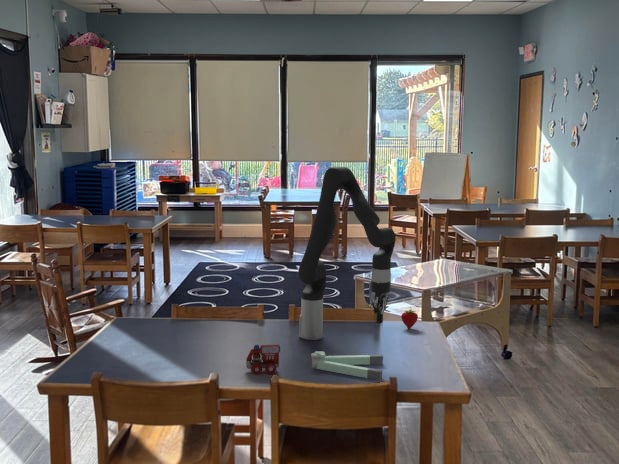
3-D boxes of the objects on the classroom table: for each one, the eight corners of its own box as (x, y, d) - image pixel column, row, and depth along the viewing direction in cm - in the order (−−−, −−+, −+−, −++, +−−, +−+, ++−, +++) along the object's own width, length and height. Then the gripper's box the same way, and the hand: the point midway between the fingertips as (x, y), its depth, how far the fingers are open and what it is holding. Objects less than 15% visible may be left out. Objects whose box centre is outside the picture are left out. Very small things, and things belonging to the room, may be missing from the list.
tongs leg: (310, 368, 265) (310, 357, 264) (313, 365, 267) (313, 355, 267) (380, 380, 254) (380, 370, 253) (382, 378, 256) (382, 367, 256)
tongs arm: (311, 368, 263) (311, 356, 263) (309, 363, 269) (310, 351, 268) (384, 367, 266) (384, 355, 265) (381, 362, 271) (382, 350, 271)
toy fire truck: (246, 367, 264) (246, 341, 262) (279, 367, 265) (279, 341, 263) (246, 374, 257) (246, 347, 255) (280, 374, 258) (280, 347, 256)
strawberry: (399, 326, 317) (400, 305, 316) (415, 326, 318) (416, 305, 316) (402, 330, 312) (403, 308, 310) (418, 330, 312) (420, 308, 311)
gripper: (377, 274, 278) (375, 317, 281) (366, 282, 266) (364, 326, 269) (395, 276, 275) (394, 319, 278) (384, 284, 263) (383, 328, 266)
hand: (379, 322), depth 274 cm, fingers closed
